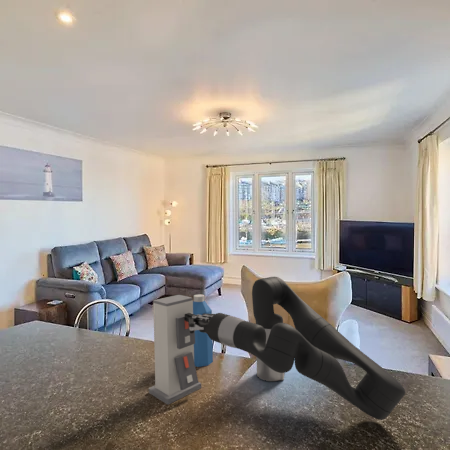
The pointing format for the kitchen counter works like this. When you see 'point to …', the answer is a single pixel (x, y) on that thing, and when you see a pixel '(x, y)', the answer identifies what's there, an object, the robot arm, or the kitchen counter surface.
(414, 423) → the kitchen counter surface
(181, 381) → the lower rocker
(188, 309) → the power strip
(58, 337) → the kitchen counter surface
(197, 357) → the water bottle
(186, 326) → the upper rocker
